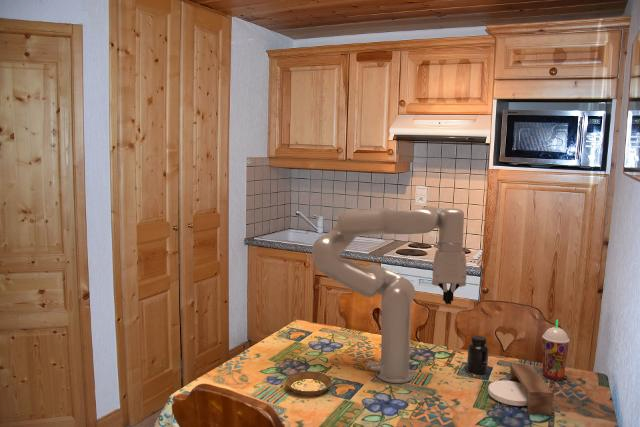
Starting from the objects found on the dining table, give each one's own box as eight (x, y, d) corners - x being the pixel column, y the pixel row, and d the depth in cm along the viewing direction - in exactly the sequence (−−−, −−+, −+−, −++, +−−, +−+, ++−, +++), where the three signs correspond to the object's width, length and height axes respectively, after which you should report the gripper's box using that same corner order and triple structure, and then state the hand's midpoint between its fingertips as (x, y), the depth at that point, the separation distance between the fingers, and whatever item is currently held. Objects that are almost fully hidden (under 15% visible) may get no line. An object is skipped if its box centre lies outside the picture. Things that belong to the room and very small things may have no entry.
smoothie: (555, 383, 173) (559, 325, 171) (534, 374, 180) (538, 317, 178) (571, 379, 177) (576, 321, 174) (551, 369, 184) (554, 314, 182)
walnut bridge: (528, 413, 153) (530, 391, 152) (509, 383, 173) (510, 363, 172) (551, 414, 153) (553, 392, 152) (529, 384, 172) (530, 364, 172)
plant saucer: (309, 374, 178) (309, 367, 178) (341, 389, 168) (341, 381, 167) (276, 388, 168) (276, 380, 168) (307, 404, 157) (307, 395, 157)
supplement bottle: (488, 376, 178) (490, 342, 177) (467, 374, 180) (469, 340, 178) (486, 367, 185) (487, 335, 184) (466, 366, 186) (467, 333, 185)
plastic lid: (485, 386, 172) (485, 378, 171) (530, 390, 169) (531, 382, 169) (490, 406, 158) (491, 398, 158) (540, 411, 155) (540, 403, 155)
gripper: (428, 248, 164) (425, 305, 166) (476, 250, 163) (473, 307, 165) (425, 244, 171) (423, 299, 173) (471, 245, 170) (468, 300, 172)
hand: (447, 303), depth 169 cm, fingers closed
